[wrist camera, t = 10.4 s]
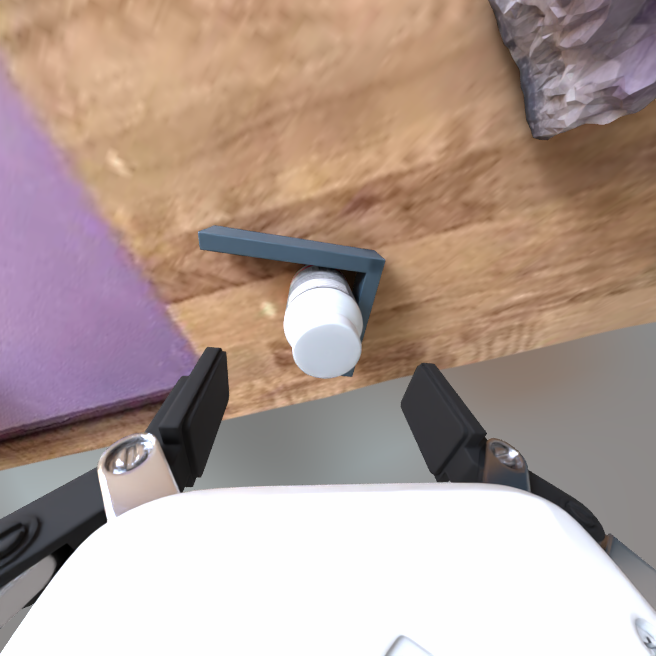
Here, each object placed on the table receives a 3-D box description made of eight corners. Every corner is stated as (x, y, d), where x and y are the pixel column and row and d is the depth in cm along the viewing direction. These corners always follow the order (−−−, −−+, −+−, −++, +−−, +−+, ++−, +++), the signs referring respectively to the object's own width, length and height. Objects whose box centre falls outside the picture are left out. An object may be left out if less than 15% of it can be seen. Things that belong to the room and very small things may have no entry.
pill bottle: (344, 316, 23) (365, 387, 15) (290, 314, 23) (280, 388, 14) (351, 262, 20) (381, 312, 12) (289, 258, 20) (276, 309, 11)
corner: (223, 346, 24) (212, 367, 21) (213, 225, 18) (197, 231, 15) (347, 357, 26) (352, 376, 23) (374, 250, 20) (385, 259, 17)
